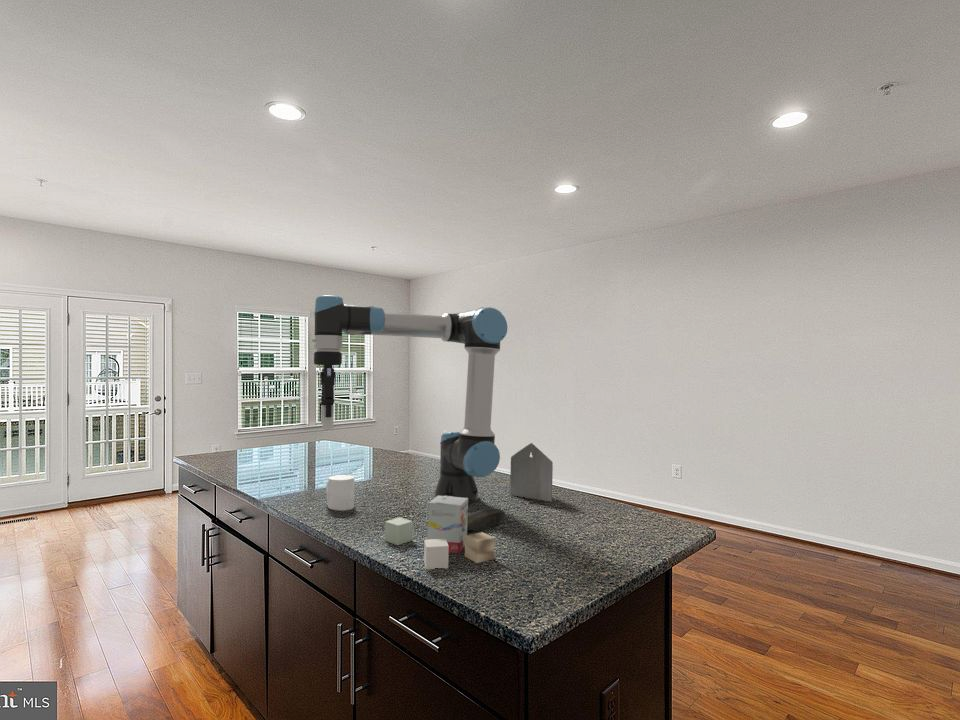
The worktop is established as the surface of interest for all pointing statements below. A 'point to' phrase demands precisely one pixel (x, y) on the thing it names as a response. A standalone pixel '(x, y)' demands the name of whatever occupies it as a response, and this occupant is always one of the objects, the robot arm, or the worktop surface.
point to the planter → (531, 474)
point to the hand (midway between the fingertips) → (326, 426)
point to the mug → (340, 492)
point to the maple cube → (479, 547)
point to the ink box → (448, 521)
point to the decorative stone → (484, 519)
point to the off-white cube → (436, 553)
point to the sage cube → (398, 531)
